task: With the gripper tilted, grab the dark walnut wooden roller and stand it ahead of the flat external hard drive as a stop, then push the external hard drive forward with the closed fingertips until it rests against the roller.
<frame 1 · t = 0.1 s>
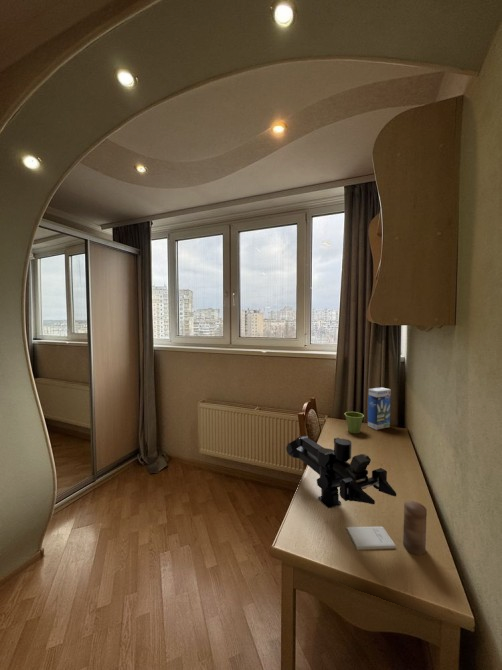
hand: (385, 498, 83), 17 cm above the table, tool horizontal, fingers open, 9 cm apart
walnut roller: (414, 547, 85), on the table
plant pot: (353, 431, 176), on the table
string lights box: (378, 426, 184), on the table
external hard drive: (369, 540, 89), on the table
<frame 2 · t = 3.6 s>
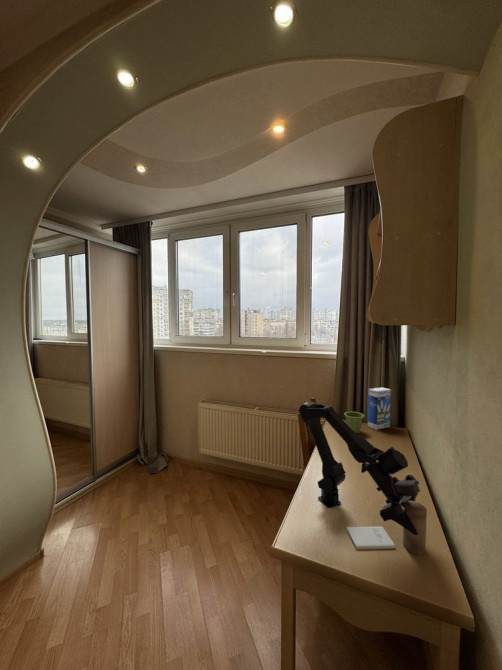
hand: (419, 529, 84), 7 cm above the table, tool tilted 45°, fingers closed on walnut roller, 6 cm apart
walnut roller: (414, 547, 85), on the table, touching gripper
everything else where it was.
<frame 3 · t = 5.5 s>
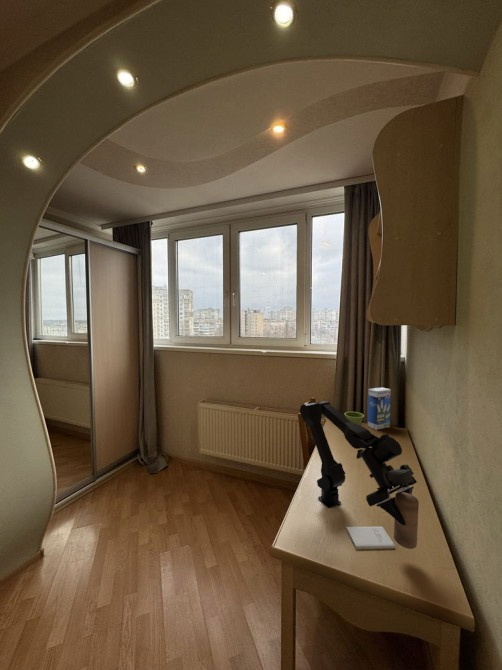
hand: (410, 520, 80), 12 cm above the table, tool tilted 45°, fingers closed on walnut roller, 6 cm apart
walnut roller: (405, 540, 81), point 5 cm above the table, touching gripper
everything else where it was.
when the fingers open (7 cm above the table, at t = 7.4 s): walnut roller stays where it is, on the table.
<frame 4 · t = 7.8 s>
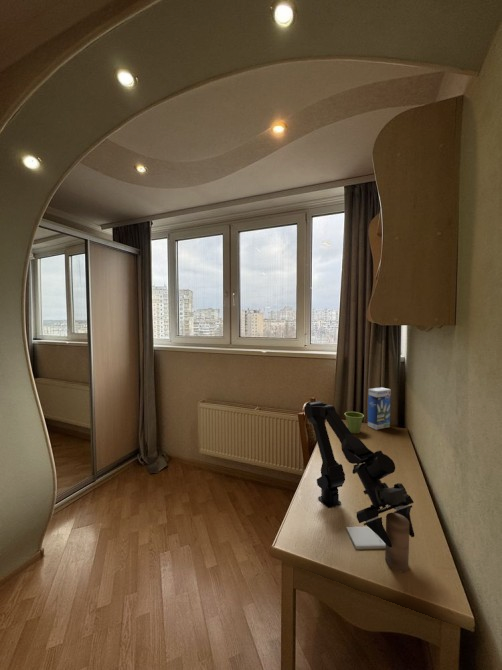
hand: (402, 541, 78), 8 cm above the table, tool tilted 45°, fingers open, 9 cm apart
walnut roller: (396, 562, 80), on the table
everything else where it was.
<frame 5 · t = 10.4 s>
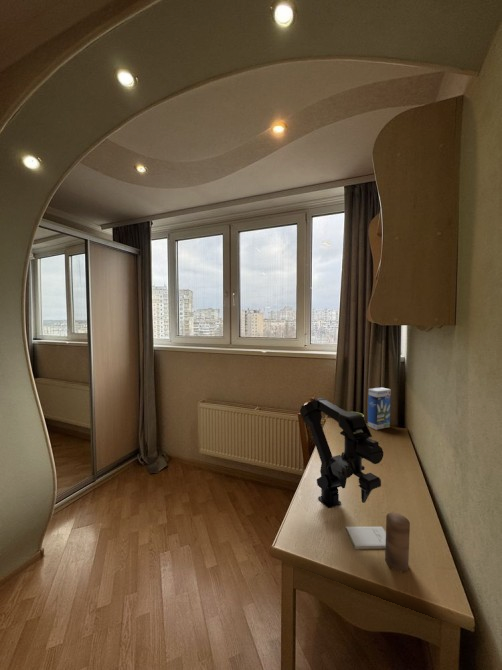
hand: (353, 494, 95), 10 cm above the table, tool pointing down, fingers open, 9 cm apart
nothing on the table moved.
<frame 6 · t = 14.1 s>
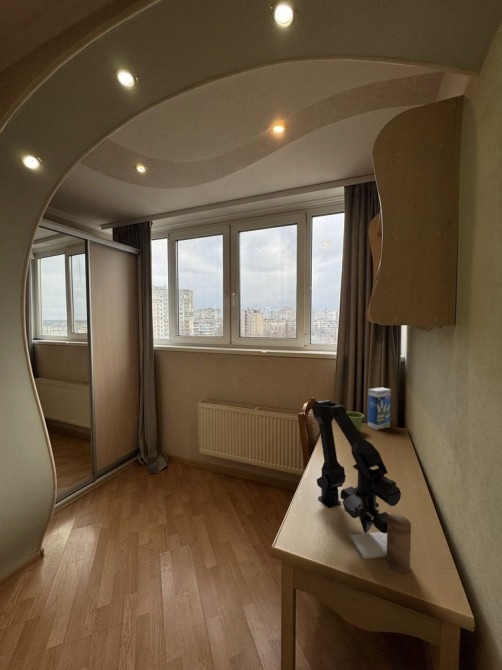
hand: (365, 532, 90), 1 cm above the table, tool pointing down, fingers closed
external hard drive: (374, 548, 86), on the table, touching gripper
everything else where it was.
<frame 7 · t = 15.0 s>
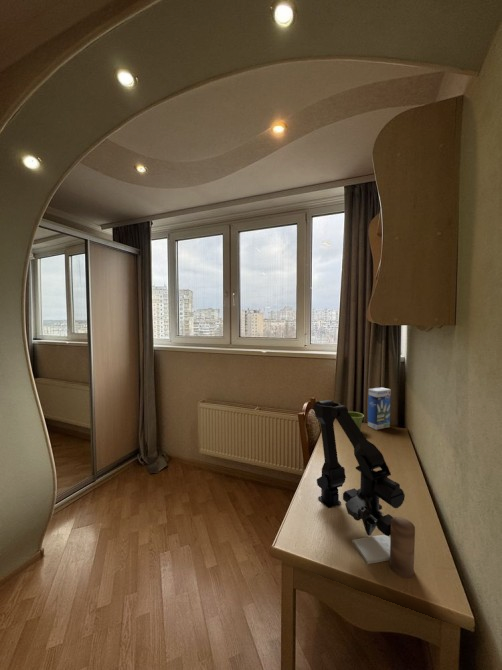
hand: (368, 534, 89), 1 cm above the table, tool pointing down, fingers closed
walnut roller: (401, 568, 78), on the table
external hard drive: (377, 551, 84), on the table
everything else where it was.
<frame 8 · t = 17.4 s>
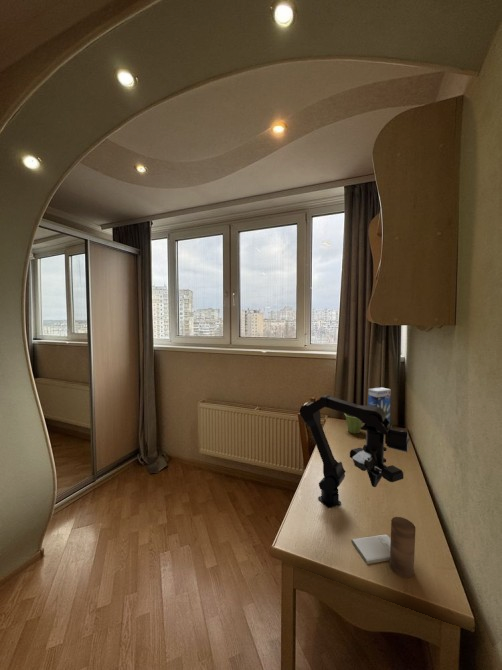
hand: (374, 486, 97), 12 cm above the table, tool pointing down, fingers closed
nothing on the table moved.
at the end: walnut roller tilted 1°; external hard drive moved 4.3 cm from its start; external hard drive 7.6 cm from the walnut roller (horizontally) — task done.
